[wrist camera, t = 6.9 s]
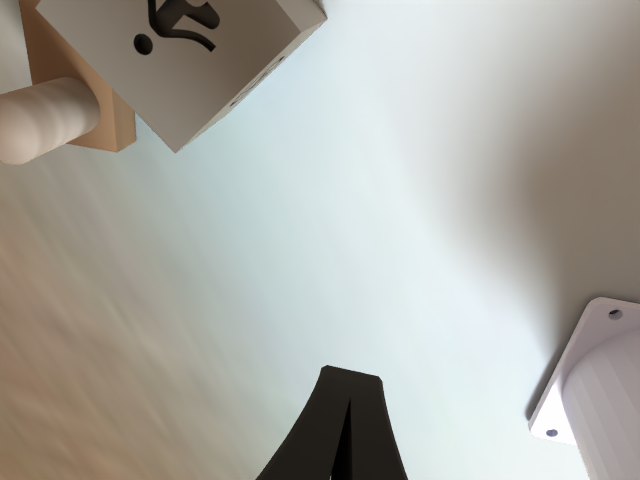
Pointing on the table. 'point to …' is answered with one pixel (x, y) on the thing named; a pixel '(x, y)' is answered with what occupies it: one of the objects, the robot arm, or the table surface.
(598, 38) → the table surface
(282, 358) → the table surface
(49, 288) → the table surface
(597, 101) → the table surface
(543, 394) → the robot arm
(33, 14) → the peg rack
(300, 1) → the dice cube
